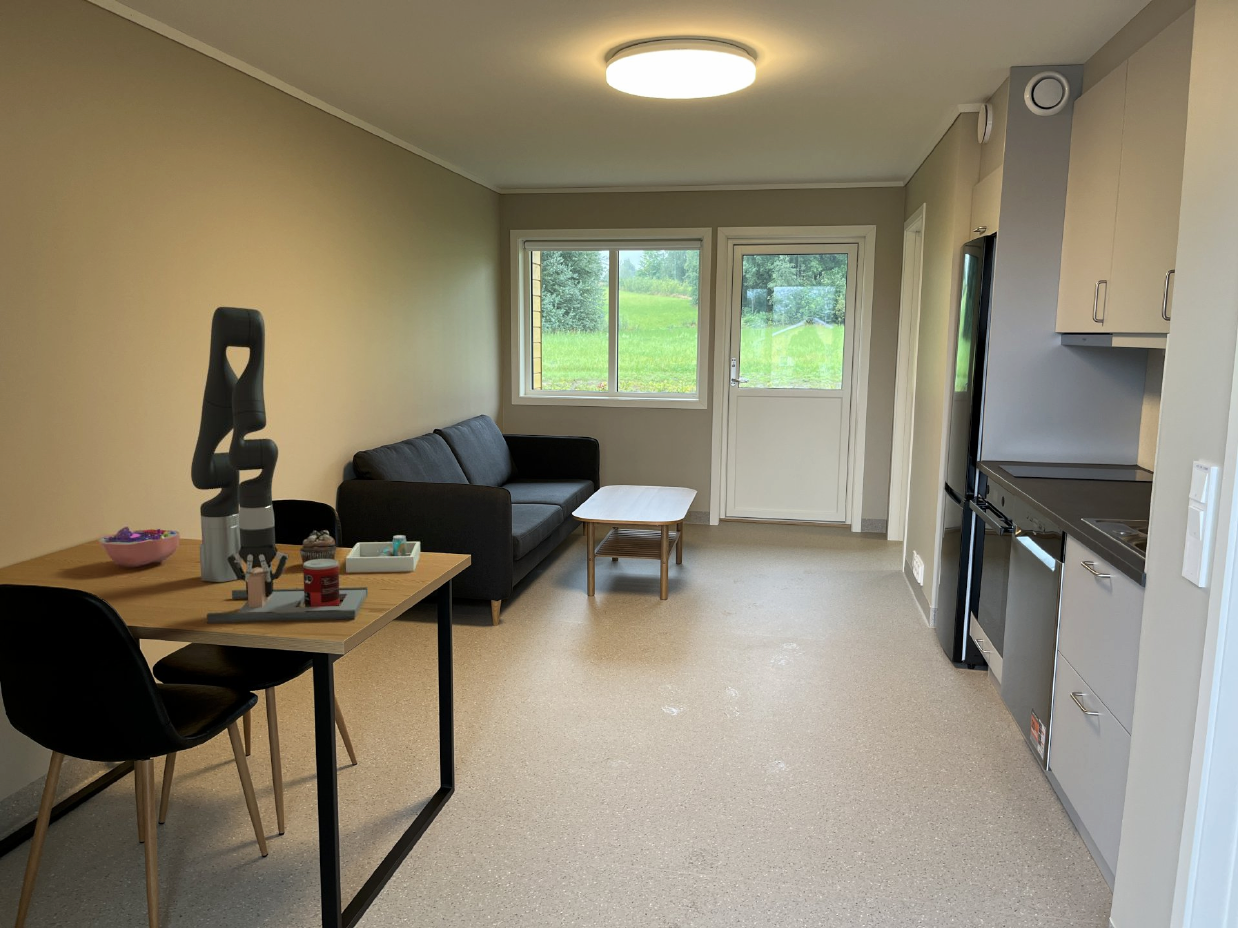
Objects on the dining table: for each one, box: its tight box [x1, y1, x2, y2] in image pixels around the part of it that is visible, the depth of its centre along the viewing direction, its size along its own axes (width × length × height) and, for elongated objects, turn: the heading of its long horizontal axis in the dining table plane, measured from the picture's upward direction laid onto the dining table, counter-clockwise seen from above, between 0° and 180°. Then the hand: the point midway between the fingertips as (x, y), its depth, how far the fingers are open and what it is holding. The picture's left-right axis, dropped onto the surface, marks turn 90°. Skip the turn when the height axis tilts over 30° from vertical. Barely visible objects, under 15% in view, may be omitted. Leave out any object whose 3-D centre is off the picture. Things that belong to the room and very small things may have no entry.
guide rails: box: [206, 586, 369, 624], centre depth 207 cm, size 32×19×2 cm, turn 97°
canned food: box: [302, 559, 341, 607], centre depth 207 cm, size 8×8×11 cm
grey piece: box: [237, 567, 368, 617], centre depth 207 cm, size 26×16×8 cm, turn 97°
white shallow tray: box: [345, 541, 421, 573], centre depth 248 cm, size 18×18×4 cm
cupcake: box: [299, 529, 337, 565], centre depth 244 cm, size 10×10×10 cm
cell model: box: [98, 526, 181, 568], centre depth 242 cm, size 17×20×11 cm
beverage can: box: [377, 534, 407, 557], centre depth 248 cm, size 12×12×8 cm
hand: (260, 596), depth 206 cm, fingers closed on grey piece, 3 cm apart
